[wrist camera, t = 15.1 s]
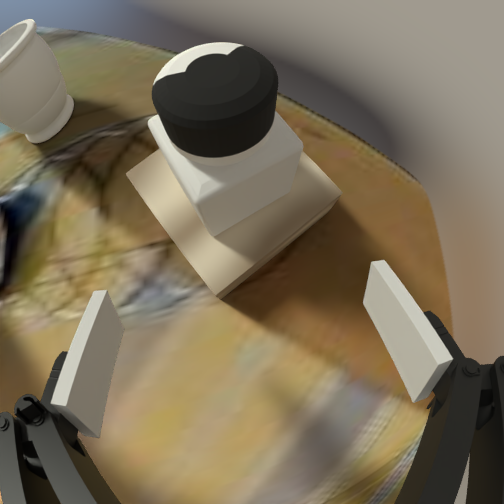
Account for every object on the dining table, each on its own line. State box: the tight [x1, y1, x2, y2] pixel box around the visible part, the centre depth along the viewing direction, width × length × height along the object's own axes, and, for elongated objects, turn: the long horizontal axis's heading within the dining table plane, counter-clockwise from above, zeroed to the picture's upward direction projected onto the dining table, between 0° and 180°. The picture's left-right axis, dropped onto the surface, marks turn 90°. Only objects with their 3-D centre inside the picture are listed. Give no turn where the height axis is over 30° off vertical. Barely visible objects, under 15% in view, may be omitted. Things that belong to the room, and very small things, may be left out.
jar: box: [0, 19, 74, 143], centre depth 23 cm, size 11×10×15 cm
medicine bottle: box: [148, 42, 303, 236], centre depth 17 cm, size 7×7×12 cm
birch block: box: [126, 149, 343, 300], centre depth 26 cm, size 13×13×5 cm
